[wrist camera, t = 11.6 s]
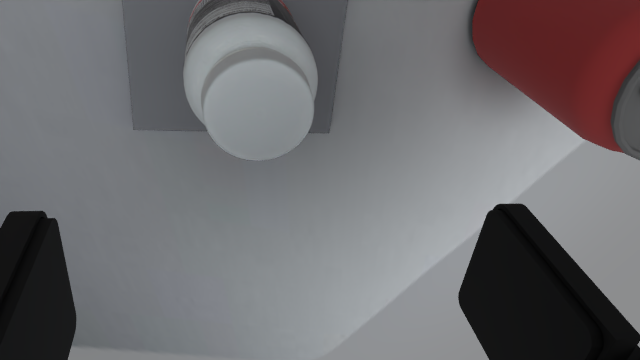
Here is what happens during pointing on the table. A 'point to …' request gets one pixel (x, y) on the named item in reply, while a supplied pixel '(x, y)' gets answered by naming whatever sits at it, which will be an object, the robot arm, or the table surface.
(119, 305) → the table surface
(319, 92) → the charcoal mat
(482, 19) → the beer can
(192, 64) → the pill bottle
